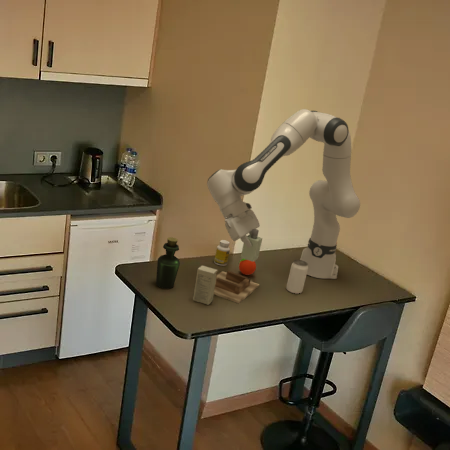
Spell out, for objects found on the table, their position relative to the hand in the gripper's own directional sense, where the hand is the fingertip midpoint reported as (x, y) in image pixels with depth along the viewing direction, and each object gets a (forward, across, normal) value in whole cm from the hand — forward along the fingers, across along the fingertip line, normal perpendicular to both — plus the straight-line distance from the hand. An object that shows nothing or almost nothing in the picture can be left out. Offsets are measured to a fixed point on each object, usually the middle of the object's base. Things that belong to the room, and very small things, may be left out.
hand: (253, 244), depth 222 cm
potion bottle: (-3, -16, +32) cm, 36 cm away
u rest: (+10, +1, +18) cm, 20 cm away
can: (+24, +18, +4) cm, 31 cm away
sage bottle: (+3, 0, +4) cm, 5 cm away
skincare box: (+8, -17, +20) cm, 28 cm away
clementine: (+9, +18, +19) cm, 27 cm away
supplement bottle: (+1, +20, +27) cm, 34 cm away
